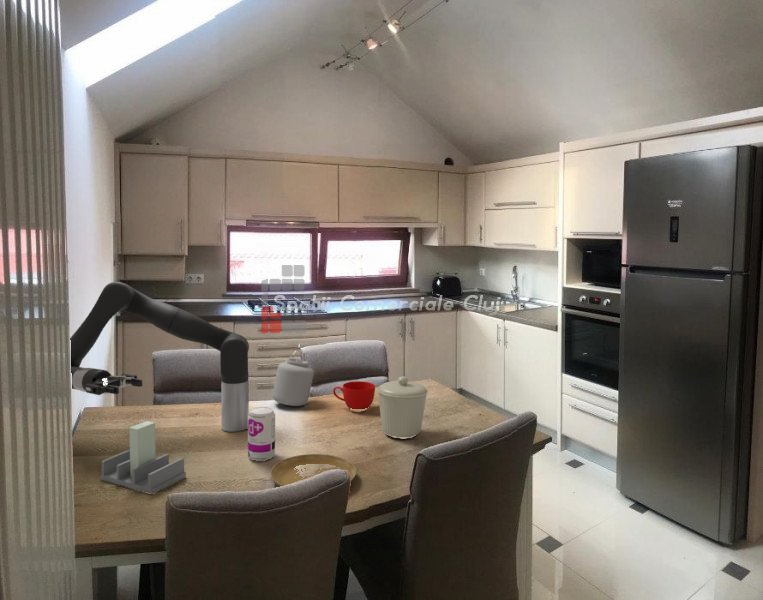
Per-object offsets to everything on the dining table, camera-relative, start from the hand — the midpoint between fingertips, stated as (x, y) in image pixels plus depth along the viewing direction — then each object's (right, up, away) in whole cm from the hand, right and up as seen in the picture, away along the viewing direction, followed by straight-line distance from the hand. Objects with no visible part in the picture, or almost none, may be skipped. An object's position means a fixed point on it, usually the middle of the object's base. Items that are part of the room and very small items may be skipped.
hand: (129, 386), depth 161 cm
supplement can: (+38, -23, +6) cm, 45 cm away
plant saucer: (+56, -26, -8) cm, 62 cm away
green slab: (+9, -23, -11) cm, 26 cm away
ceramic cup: (+64, -18, +55) cm, 86 cm away
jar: (+40, -17, +59) cm, 74 cm away
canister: (+83, -22, +29) cm, 90 cm away
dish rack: (+9, -24, -11) cm, 28 cm away
